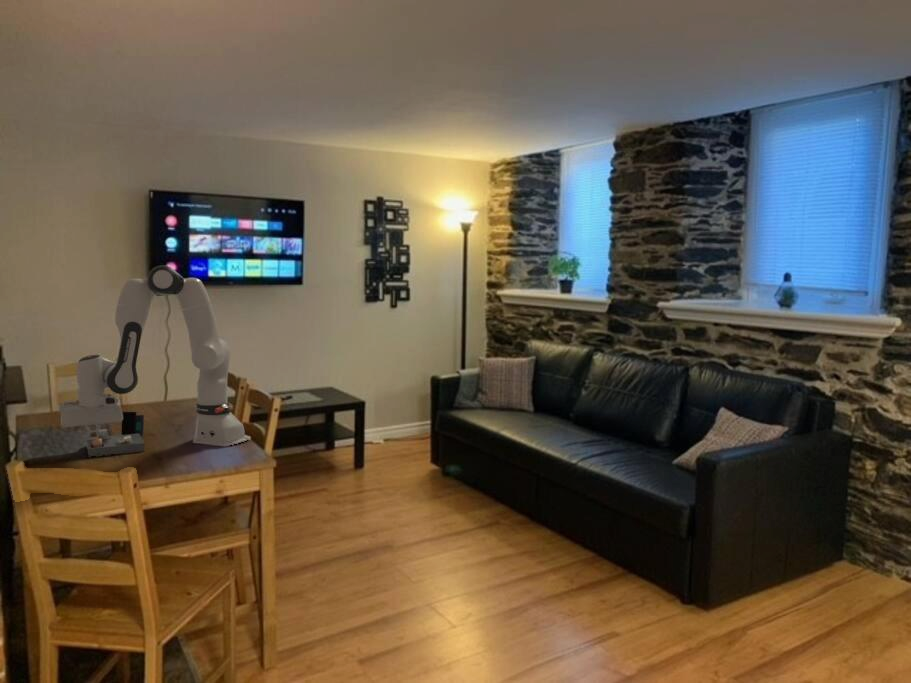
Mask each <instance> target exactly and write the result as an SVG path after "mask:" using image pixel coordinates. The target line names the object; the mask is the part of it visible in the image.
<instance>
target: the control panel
mask: <svg viewBox="0 0 911 683" xmlns="http://www.w3.org/2000/svg"><path fill="white" fill-rule="evenodd" d="M130 435H131V438H132V440H130V441H127V442H126V443H124V442H122V443H119V442H118V438H122V437H126V436H130ZM97 438H98V436H96V437H89V438H85V443H86V445H87V447H86V450H88V451H87V455H89V456H88V458H92V457H91V456H96V457H103V455H105V456H112V455H111V454H114V455H121V454H129V453H131V454H132V453H139V452H145V442H144V440H143V438H142V435H140V434H139V433H137V434H127V435H122V434H118V435H110V436H109V435H107V438H108V439H104V440H102V447H93V439H97Z"/></svg>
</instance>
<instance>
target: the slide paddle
mask: <svg viewBox="0 0 911 683" xmlns="http://www.w3.org/2000/svg"><path fill="white" fill-rule="evenodd" d="M107 436H108V429H107V428H103V429H101V428H100V429H99V431H98V436H97V437H98V438H101V439H102V440H104V439H108V438H107Z"/></svg>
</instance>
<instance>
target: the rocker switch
mask: <svg viewBox="0 0 911 683" xmlns="http://www.w3.org/2000/svg"><path fill="white" fill-rule="evenodd" d="M130 440H132V438H131V435H130V436H126V437H122V438H118V442H119V443H122V442H124V443H126V442H127V441H130Z"/></svg>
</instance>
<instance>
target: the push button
mask: <svg viewBox="0 0 911 683" xmlns="http://www.w3.org/2000/svg"><path fill="white" fill-rule="evenodd" d="M96 438H97V437H96ZM93 447H102V439H101V438H97V439H93Z"/></svg>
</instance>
